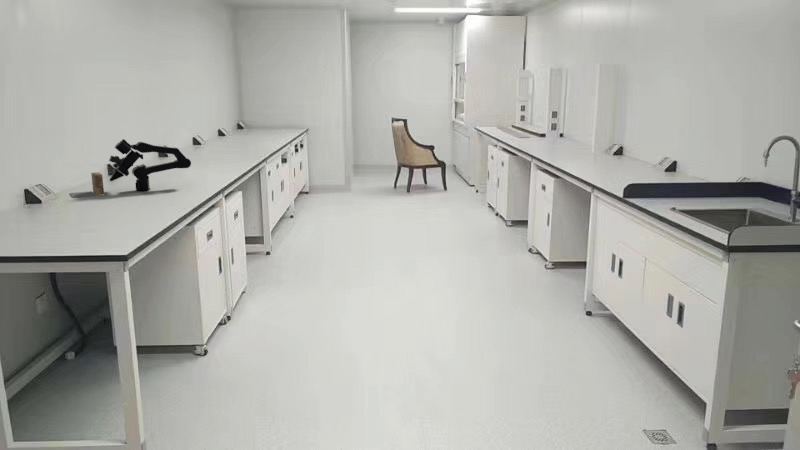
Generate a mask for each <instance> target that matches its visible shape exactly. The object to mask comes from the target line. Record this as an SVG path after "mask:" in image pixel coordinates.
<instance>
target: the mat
mask: <svg viewBox="0 0 800 450" xmlns="http://www.w3.org/2000/svg"><path fill="white" fill-rule="evenodd" d="M69 195H70V196H71V198H86V197H87V198H88V197H95V196H96V195H95V194H94V193H93V190H91V191H82V192H80V191H78V192H69Z"/></svg>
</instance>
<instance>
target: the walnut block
mask: <svg viewBox="0 0 800 450" xmlns="http://www.w3.org/2000/svg"><path fill="white" fill-rule="evenodd" d="M91 182H92V192H93V193H94V194H95V196H96V197H97V196H105V190H104V180H103V174H102V173H100V171H99V172H97V171H96V172H91Z"/></svg>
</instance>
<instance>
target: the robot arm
mask: <svg viewBox="0 0 800 450" xmlns="http://www.w3.org/2000/svg"><path fill="white" fill-rule="evenodd" d="M114 149H116V151H118V152H120V153H121V154H122V155H124V154H125V155H126V156H124V157H121V158H120V156H117V155H115V156H114V155H110V157H109V159H108V161H109V162H110V163H113V164H112V166H113V172H112V175H111V177H110V178H109V181H110V182H114V181H116V180H117V179H120V178H122V177H124V176H126V177H128V176H129V174H130V171H129V169H131V167H133V166H134V164H135V163H136V162H137V161H138V160H139V159H141V160H144V154H145V153H146V154H148V153H160V154H168V155H169V154H170V155H173V156H174V157H175V159H176V160H174V161H170V162H163V163H160V164H155V165H154V164H153V165H148V166H146V165H145V164H144V163H143V164H141V165H135V166H134V167H133V168H132V170H131V174H132V175H133V176H134V177H135V178H136V180H135V181H136V182H135V192H148V191H150V190H151V187H150V179H149V178H150V176H149V175H150V174H154V173H159V172H164V171H167V170H174V169H188V168H190V167H191V166H192V162H191V159H189V158H188V157H186V156H185V155H184V154H183V153H182V151H180V149H179V148H177V147H169V146H163V145H162V146H161V145H153V144H150V143H148V142H147V143H146V142H143V141H138V142H136V144H135V143H134V144H130V143H129V142H128V141H127V140H125V139H124V138H123V139H121V140H120V141H119V142H117V143H116V145H115V146H114ZM141 153H142V154H141Z"/></svg>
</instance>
